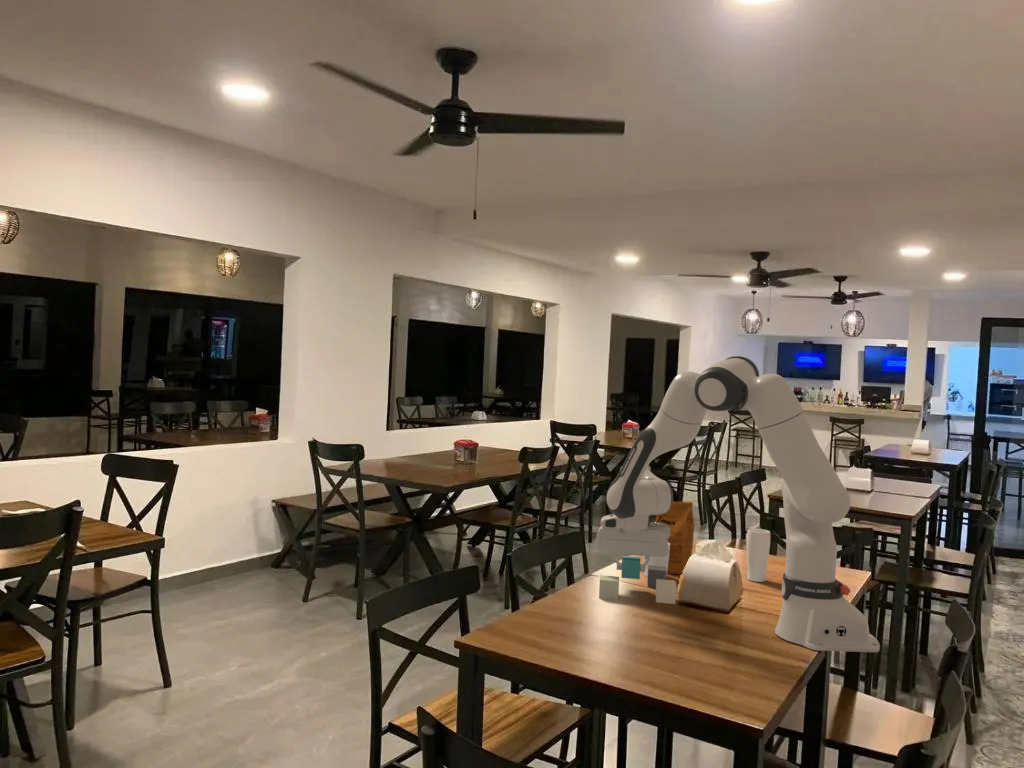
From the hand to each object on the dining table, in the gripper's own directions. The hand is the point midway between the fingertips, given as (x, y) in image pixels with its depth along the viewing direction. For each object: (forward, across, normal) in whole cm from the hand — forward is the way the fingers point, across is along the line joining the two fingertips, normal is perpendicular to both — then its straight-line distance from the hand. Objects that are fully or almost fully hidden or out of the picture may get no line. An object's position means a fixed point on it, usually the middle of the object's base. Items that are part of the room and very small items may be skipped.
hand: (630, 570), depth 213 cm
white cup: (+6, -7, -18) cm, 20 cm away
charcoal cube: (+6, -7, -8) cm, 12 cm away
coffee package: (+6, -12, -27) cm, 30 cm away
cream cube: (+6, -9, +7) cm, 13 cm away
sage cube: (+6, +6, +8) cm, 11 cm away
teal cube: (+2, 0, 0) cm, 2 cm away
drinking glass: (+6, -37, -23) cm, 44 cm away
